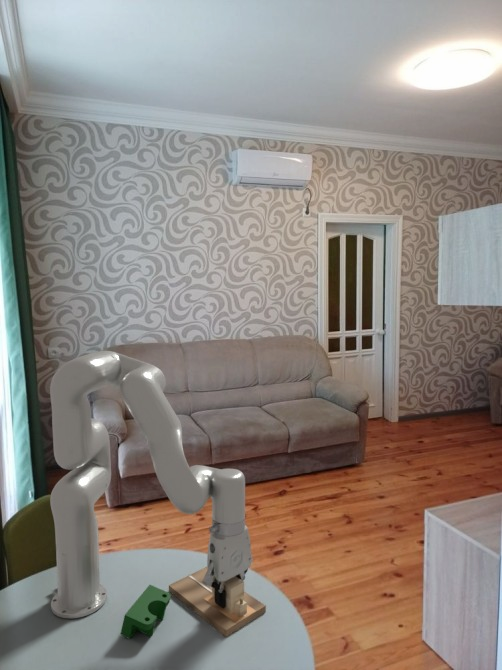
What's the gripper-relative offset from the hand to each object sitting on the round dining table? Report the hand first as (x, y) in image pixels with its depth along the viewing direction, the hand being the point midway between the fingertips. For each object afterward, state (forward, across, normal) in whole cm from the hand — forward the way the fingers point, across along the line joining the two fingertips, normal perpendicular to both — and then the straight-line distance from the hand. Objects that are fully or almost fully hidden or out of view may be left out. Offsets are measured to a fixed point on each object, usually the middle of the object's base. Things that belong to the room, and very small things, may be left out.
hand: (228, 599), depth 112 cm
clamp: (+3, -16, +9) cm, 19 cm away
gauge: (+1, 0, 0) cm, 1 cm away
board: (+3, 0, +5) cm, 6 cm away
